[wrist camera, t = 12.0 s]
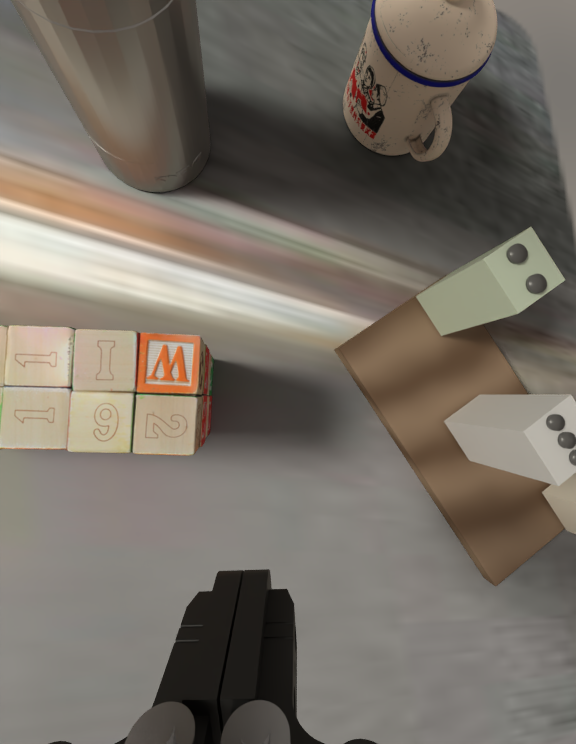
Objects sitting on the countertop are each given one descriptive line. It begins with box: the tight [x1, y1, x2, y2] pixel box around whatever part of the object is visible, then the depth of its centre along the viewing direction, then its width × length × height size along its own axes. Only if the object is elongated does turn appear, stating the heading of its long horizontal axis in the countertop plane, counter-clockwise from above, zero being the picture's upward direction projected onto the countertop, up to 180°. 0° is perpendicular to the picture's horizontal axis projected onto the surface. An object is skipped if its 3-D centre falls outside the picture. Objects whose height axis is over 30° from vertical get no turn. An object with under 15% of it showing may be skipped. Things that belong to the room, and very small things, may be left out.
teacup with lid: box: [343, 0, 497, 162], centre depth 29 cm, size 12×9×12 cm
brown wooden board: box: [335, 273, 565, 586], centre depth 33 cm, size 24×12×2 cm, turn 34°
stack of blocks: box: [0, 325, 214, 455], centre depth 24 cm, size 21×6×12 cm, turn 88°
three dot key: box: [444, 395, 576, 486], centre depth 28 cm, size 4×4×9 cm
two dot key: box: [416, 227, 565, 336], centre depth 28 cm, size 4×4×9 cm
